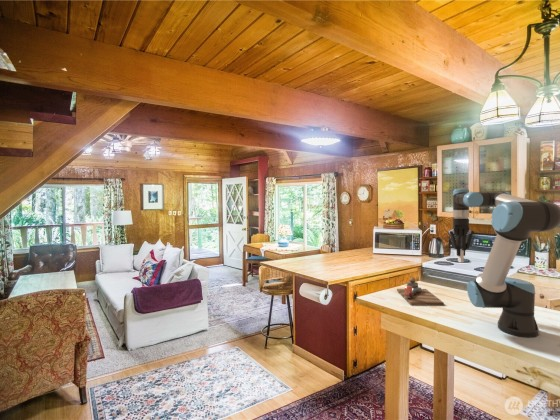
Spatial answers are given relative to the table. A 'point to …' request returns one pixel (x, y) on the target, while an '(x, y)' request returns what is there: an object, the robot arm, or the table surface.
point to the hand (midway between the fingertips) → (460, 262)
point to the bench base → (420, 295)
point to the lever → (411, 291)
